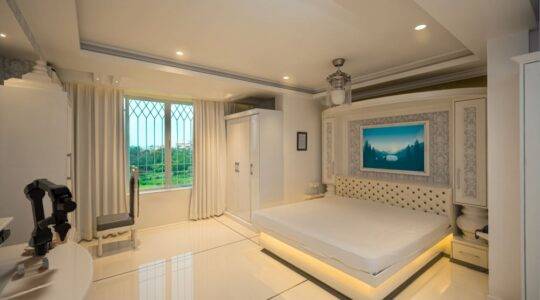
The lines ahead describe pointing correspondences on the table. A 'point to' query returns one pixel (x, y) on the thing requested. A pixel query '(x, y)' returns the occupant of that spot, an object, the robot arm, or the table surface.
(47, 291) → the table surface
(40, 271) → the board
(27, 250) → the alarm clock
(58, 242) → the orange-tan rounded capsule
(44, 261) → the clamp jaws
